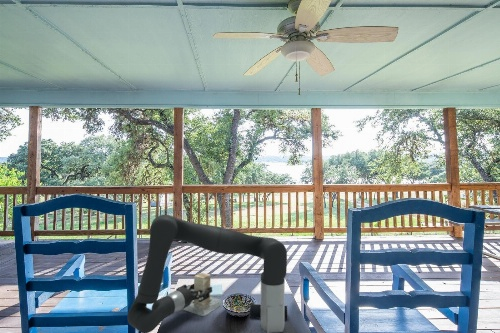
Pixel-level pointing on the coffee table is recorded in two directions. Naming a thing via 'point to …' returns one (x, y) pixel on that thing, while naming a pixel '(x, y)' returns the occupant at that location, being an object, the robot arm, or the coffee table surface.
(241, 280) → the coffee table surface
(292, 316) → the coffee table surface
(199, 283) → the maple peg
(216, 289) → the pale blue plate
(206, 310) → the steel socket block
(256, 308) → the pipe connector
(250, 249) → the robot arm
